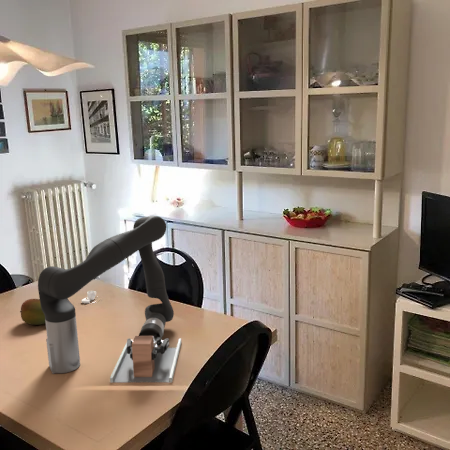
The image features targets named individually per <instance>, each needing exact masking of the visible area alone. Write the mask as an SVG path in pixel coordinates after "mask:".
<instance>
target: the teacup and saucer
mask: <svg viewBox="0 0 450 450" xmlns="http://www.w3.org/2000/svg"><path fill="white" fill-rule="evenodd" d="M86 293H87V295H86V296H87V297H84V298H82V299H81V303H82V304H90V302H92V303H91V304H94V303H95V302H96V301H95V296H96V295H97V291H96V290H95V291H94V290H88V291H87V292H86ZM86 298H87V299H86ZM92 300H93V301H92Z"/></svg>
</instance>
